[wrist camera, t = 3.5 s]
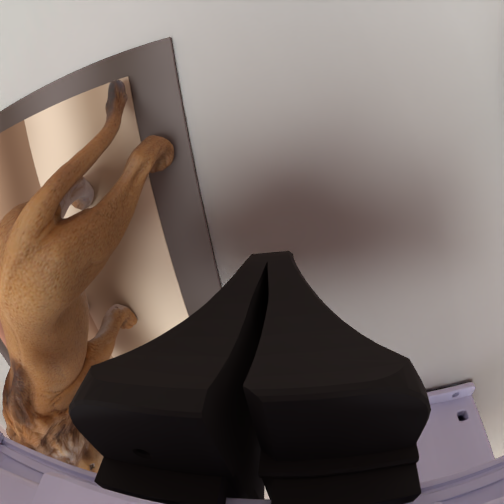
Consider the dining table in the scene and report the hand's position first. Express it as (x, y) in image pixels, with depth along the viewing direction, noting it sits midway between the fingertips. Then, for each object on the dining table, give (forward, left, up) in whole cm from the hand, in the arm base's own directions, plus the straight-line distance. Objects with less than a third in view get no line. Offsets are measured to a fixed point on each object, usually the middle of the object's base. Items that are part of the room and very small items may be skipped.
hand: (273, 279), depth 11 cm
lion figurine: (+7, 0, -2) cm, 7 cm away
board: (+12, 0, -2) cm, 13 cm away
